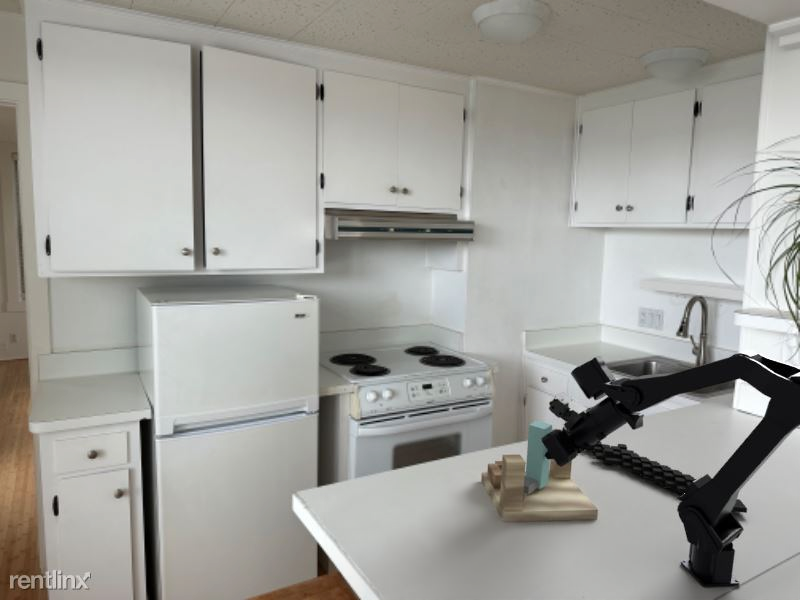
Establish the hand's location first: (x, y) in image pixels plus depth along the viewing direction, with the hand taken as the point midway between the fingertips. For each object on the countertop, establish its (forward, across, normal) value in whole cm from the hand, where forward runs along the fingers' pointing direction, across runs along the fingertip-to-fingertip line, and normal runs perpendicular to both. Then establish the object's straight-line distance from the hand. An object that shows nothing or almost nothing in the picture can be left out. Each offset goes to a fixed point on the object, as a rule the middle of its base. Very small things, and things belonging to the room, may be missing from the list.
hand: (546, 456), depth 115 cm
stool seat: (+8, +1, +6) cm, 10 cm away
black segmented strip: (-1, -28, +16) cm, 32 cm away
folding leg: (+6, +2, +3) cm, 7 cm away
